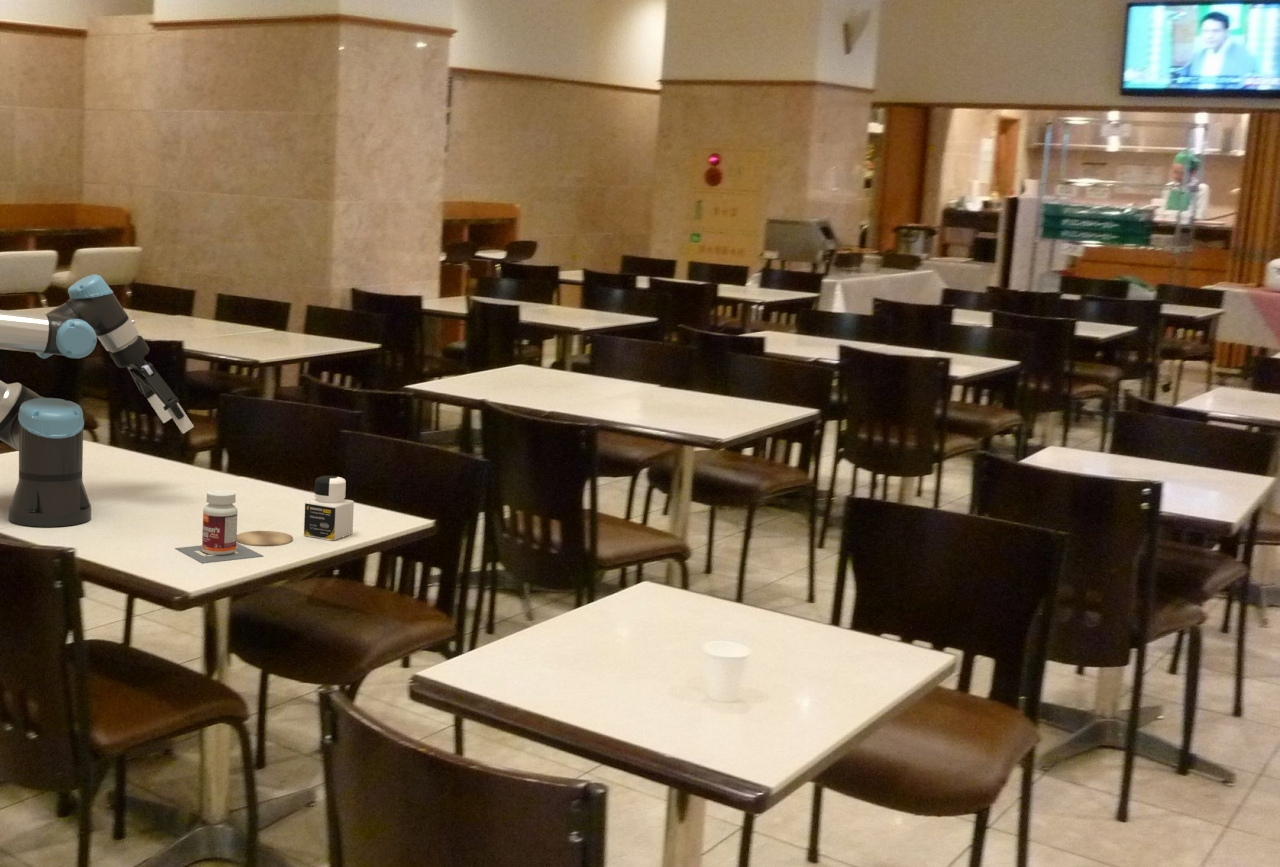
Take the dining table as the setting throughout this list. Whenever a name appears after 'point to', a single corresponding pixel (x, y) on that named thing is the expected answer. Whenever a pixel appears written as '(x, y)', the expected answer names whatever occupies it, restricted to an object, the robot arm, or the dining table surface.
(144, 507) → the dining table surface
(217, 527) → the pill bottle
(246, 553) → the tile
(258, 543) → the coaster
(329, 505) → the medicine bottle
